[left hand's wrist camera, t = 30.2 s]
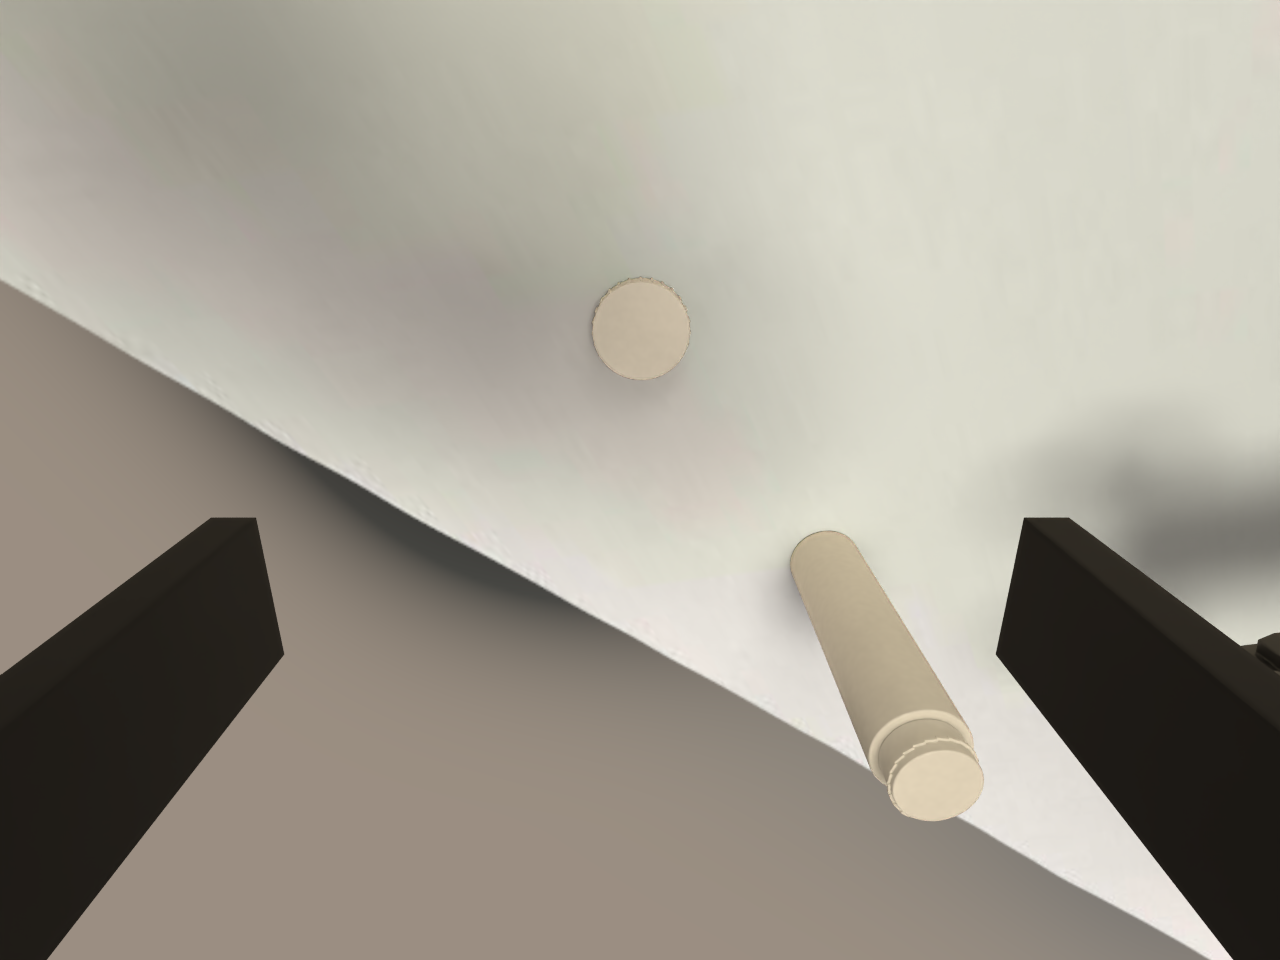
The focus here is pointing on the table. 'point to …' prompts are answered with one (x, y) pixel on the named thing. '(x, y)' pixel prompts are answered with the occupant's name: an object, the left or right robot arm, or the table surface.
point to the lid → (641, 329)
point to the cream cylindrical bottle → (886, 683)
